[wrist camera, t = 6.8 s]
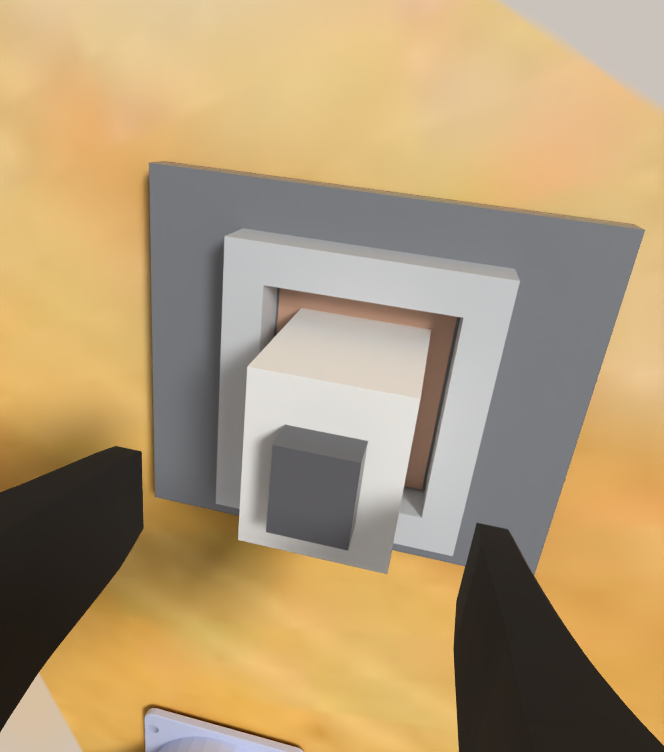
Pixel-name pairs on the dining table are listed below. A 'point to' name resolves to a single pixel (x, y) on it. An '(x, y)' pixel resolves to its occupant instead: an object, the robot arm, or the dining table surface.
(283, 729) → the dining table surface
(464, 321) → the socket dock
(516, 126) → the dining table surface
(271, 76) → the dining table surface
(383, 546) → the plug
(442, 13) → the dining table surface
